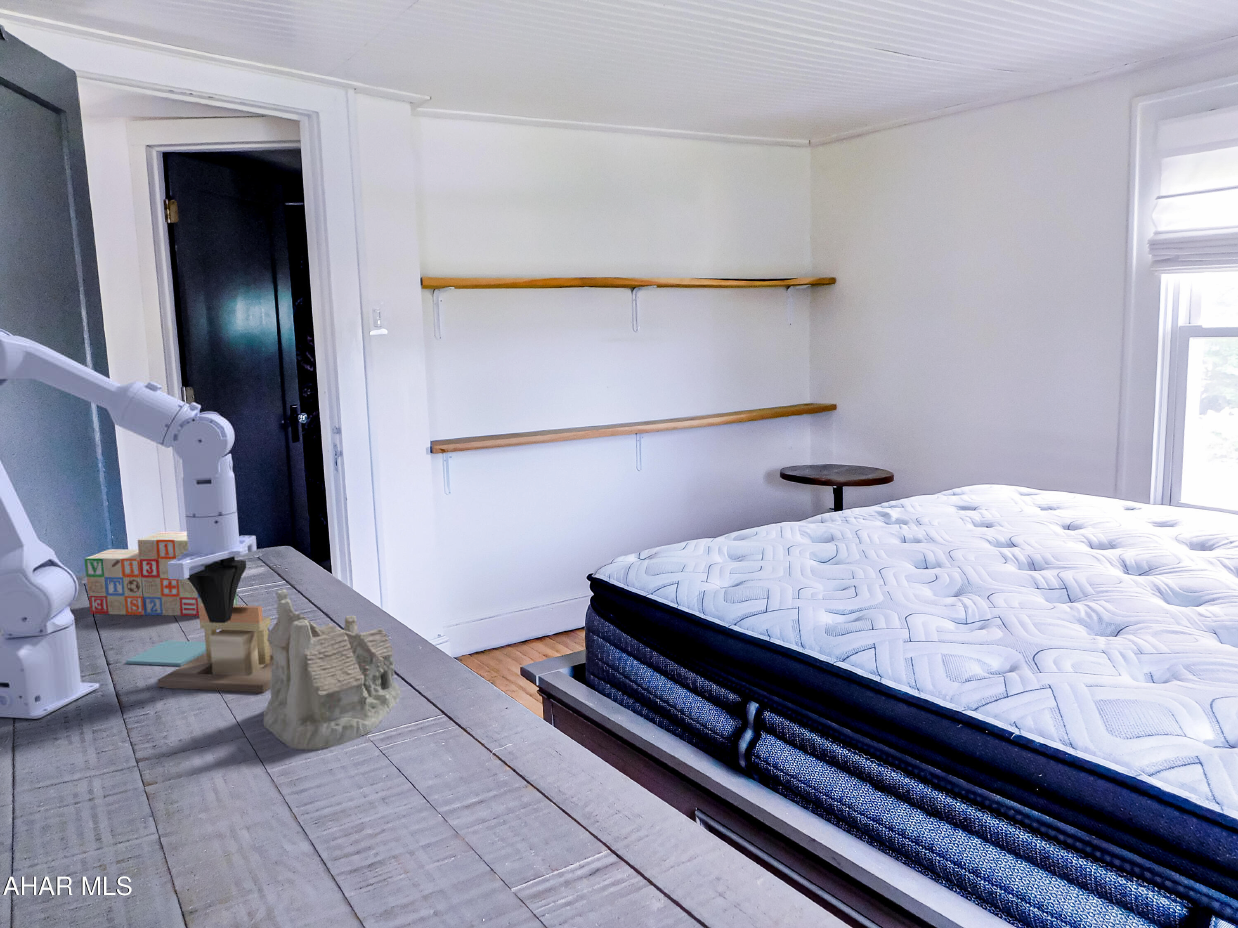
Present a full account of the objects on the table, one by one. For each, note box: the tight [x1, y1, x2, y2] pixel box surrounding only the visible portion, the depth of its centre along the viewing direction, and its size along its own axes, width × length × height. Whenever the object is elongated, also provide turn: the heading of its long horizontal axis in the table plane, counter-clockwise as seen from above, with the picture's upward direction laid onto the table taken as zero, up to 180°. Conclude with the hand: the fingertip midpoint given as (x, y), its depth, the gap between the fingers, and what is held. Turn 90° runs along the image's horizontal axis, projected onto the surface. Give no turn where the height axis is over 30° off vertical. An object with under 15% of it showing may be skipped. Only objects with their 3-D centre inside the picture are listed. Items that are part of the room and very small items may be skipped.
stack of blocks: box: [84, 531, 238, 617], centre depth 138 cm, size 21×6×12 cm, turn 85°
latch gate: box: [198, 604, 272, 665], centre depth 110 cm, size 2×8×8 cm, turn 81°
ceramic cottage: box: [262, 588, 402, 751], centre depth 98 cm, size 16×16×15 cm
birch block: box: [210, 630, 265, 676], centre depth 111 cm, size 4×4×6 cm
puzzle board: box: [157, 630, 274, 694], centre depth 114 cm, size 19×14×1 cm
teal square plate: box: [125, 640, 206, 667], centre depth 118 cm, size 8×8×1 cm
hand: (220, 621), depth 107 cm, fingers closed
